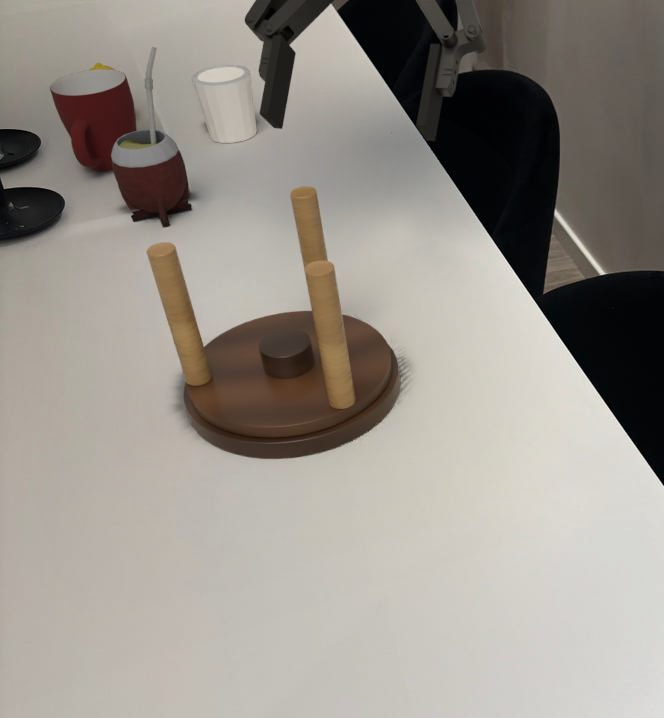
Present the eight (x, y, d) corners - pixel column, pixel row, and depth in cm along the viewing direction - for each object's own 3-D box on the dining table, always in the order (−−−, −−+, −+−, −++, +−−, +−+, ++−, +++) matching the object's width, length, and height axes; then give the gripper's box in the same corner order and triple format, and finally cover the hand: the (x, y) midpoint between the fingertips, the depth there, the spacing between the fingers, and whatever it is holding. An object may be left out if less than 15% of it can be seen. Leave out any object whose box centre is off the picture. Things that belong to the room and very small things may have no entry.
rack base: (173, 363, 81) (168, 347, 80) (365, 316, 86) (363, 301, 84) (208, 483, 70) (203, 467, 69) (429, 422, 74) (427, 406, 73)
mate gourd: (133, 235, 99) (85, 84, 89) (124, 204, 104) (78, 58, 94) (205, 220, 101) (167, 70, 90) (193, 190, 106) (155, 46, 96)
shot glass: (242, 118, 121) (230, 59, 116) (272, 132, 117) (261, 72, 112) (194, 134, 118) (180, 75, 113) (224, 150, 114) (210, 88, 109)
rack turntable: (174, 348, 80) (132, 211, 72) (359, 304, 84) (339, 169, 76) (208, 460, 69) (164, 314, 61) (419, 404, 73) (404, 259, 65)
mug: (138, 195, 106) (110, 102, 99) (65, 199, 106) (32, 106, 99) (158, 156, 114) (134, 67, 107) (90, 159, 114) (62, 71, 107)
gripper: (550, -98, 79) (504, 158, 79) (274, -102, 85) (231, 136, 85) (533, -165, 71) (482, 117, 71) (232, -164, 78) (186, 95, 78)
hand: (346, 127), depth 78 cm, fingers open, 13 cm apart
